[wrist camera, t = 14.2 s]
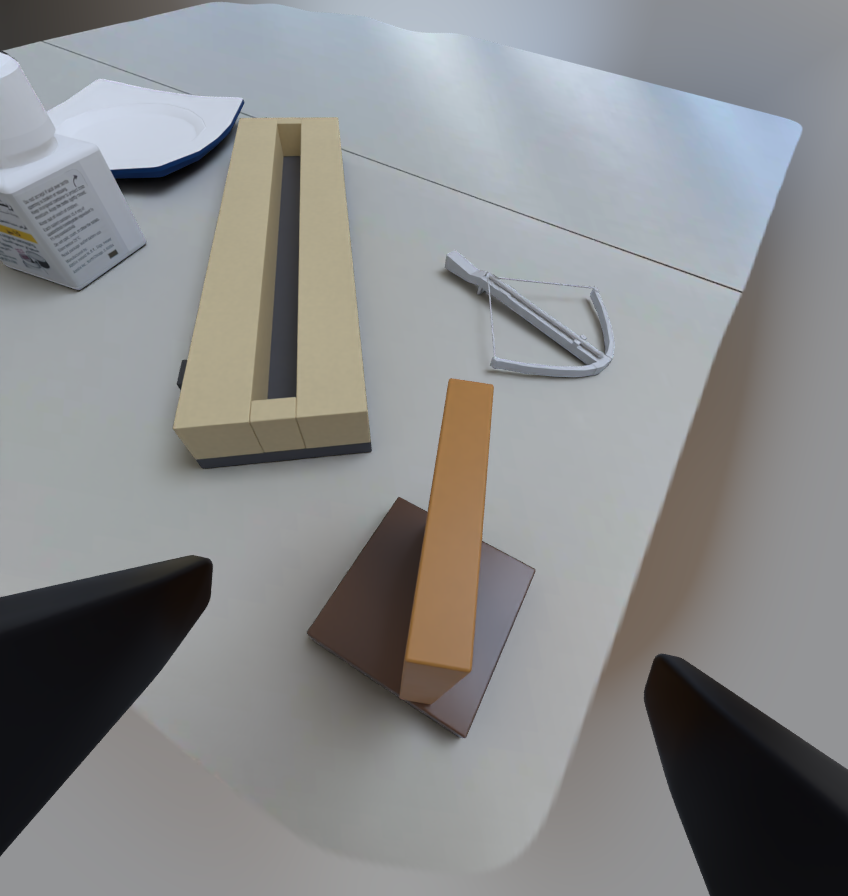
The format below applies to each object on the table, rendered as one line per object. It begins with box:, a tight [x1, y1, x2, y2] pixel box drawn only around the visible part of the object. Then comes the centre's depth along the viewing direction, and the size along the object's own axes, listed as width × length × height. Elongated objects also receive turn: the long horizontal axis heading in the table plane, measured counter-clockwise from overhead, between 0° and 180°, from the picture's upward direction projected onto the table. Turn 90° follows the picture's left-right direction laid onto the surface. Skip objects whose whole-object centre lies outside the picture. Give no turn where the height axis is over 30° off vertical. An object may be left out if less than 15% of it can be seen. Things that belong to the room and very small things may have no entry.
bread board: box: [307, 497, 535, 738], centre depth 21 cm, size 8×8×2 cm
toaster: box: [173, 117, 372, 468], centre depth 35 cm, size 40×11×4 cm, turn 9°
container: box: [0, 50, 146, 290], centre depth 31 cm, size 8×8×13 cm
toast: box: [399, 378, 494, 705], centre depth 15 cm, size 8×1×11 cm, turn 171°
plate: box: [47, 79, 244, 179], centre depth 47 cm, size 20×20×3 cm
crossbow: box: [445, 250, 615, 377], centre depth 34 cm, size 16×13×2 cm
